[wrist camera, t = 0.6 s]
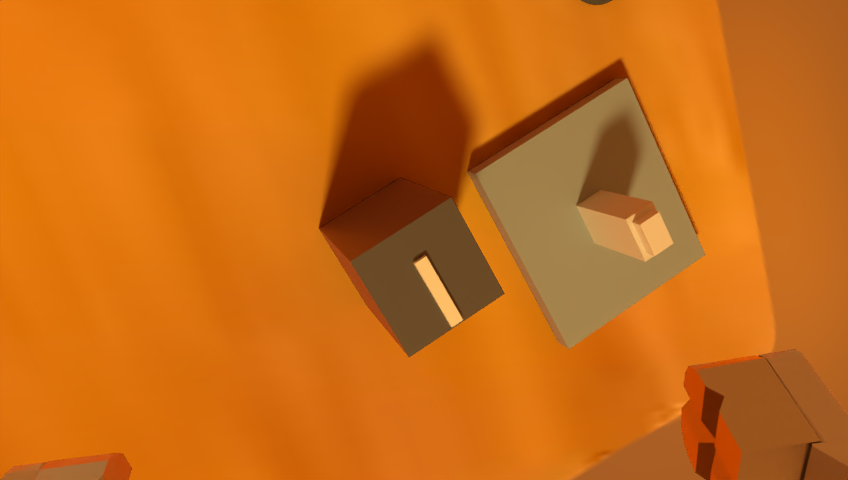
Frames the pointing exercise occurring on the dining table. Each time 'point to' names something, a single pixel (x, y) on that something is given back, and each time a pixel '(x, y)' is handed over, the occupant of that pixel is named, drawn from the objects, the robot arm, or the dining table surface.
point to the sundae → (596, 1)
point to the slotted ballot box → (413, 262)
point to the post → (589, 211)
